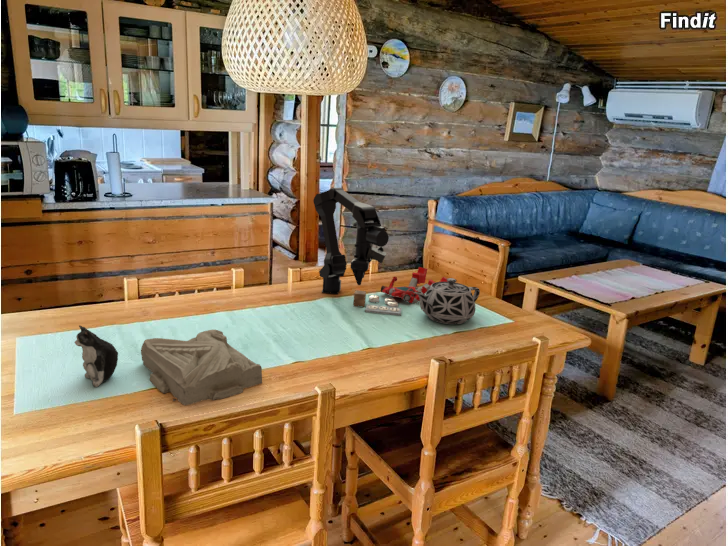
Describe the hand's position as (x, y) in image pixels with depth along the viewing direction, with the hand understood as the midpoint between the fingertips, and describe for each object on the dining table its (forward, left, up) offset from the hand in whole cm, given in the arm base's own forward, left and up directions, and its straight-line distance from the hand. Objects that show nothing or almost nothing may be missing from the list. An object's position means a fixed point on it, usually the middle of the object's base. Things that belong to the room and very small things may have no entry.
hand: (360, 281), depth 208 cm
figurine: (-58, -77, -9) cm, 96 cm away
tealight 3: (+13, +1, -9) cm, 16 cm away
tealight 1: (+5, +6, -9) cm, 12 cm away
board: (+10, -4, -9) cm, 14 cm away
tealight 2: (+11, +5, -9) cm, 15 cm away
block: (0, 0, -9) cm, 9 cm away
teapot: (+32, -6, -9) cm, 34 cm away
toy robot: (+20, +18, -10) cm, 29 cm away
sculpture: (-34, -67, -10) cm, 76 cm away
